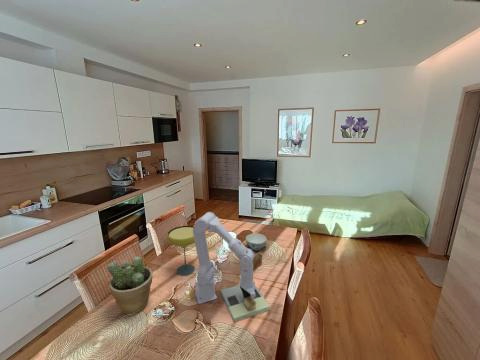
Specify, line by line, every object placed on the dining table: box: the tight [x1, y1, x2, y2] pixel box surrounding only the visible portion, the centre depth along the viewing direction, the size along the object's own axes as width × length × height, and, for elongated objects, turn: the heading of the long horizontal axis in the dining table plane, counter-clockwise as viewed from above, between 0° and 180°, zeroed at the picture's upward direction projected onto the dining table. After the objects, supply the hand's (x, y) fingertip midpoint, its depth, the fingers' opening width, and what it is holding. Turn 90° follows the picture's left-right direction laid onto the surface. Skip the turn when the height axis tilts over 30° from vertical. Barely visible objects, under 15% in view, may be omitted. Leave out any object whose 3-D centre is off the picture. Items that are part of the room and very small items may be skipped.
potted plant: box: [106, 256, 153, 315], centre depth 103 cm, size 18×19×25 cm
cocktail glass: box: [166, 225, 196, 277], centre depth 130 cm, size 18×18×25 cm
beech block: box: [244, 296, 256, 311], centre depth 102 cm, size 4×4×4 cm
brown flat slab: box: [253, 252, 263, 272], centre depth 134 cm, size 15×3×8 cm, turn 141°
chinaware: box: [245, 233, 268, 251], centre depth 157 cm, size 15×15×8 cm
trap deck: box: [220, 283, 271, 323], centre depth 108 cm, size 18×19×2 cm
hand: (246, 300), depth 105 cm, fingers closed
